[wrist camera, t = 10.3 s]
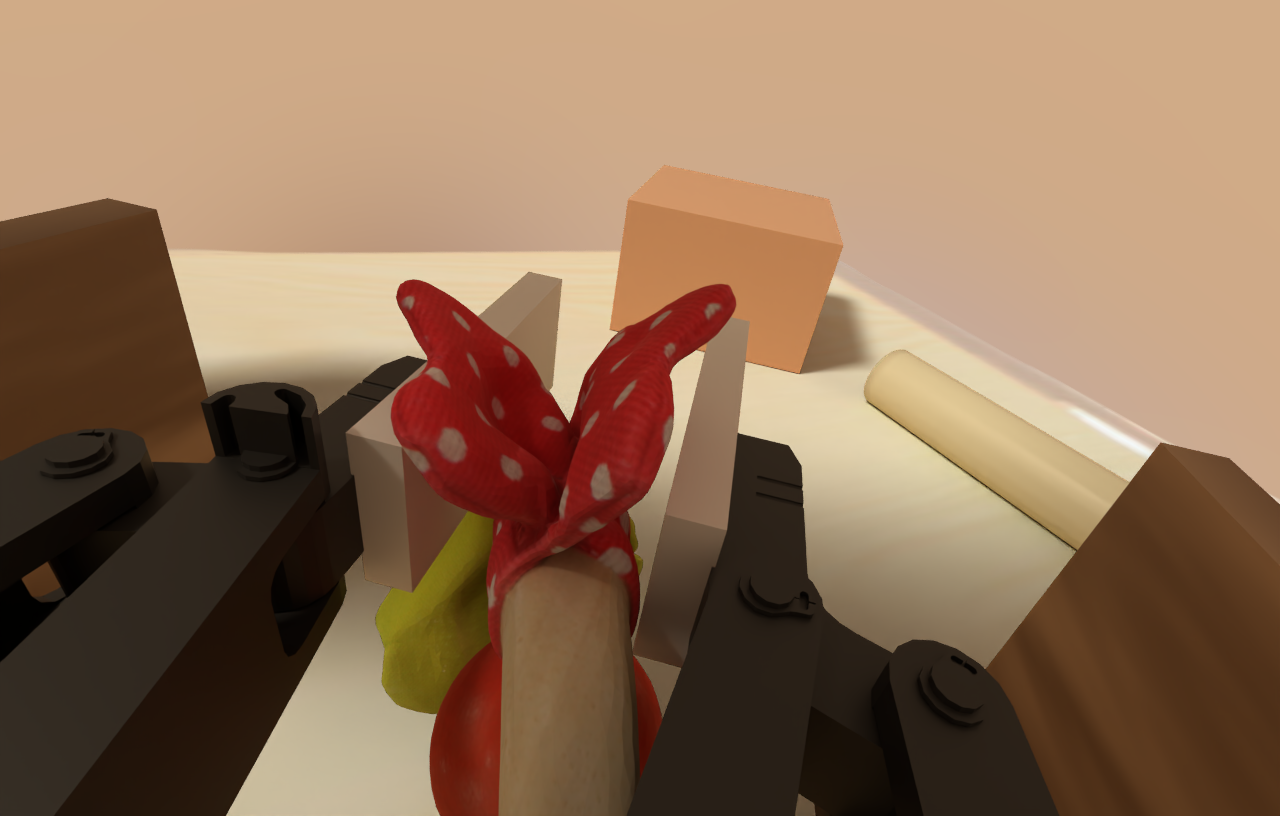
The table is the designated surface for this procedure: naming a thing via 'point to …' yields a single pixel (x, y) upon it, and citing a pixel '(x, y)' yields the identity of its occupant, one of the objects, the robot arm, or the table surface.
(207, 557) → the robot arm
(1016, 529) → the table surface
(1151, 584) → the walnut slot
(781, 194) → the terracotta stand
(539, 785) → the bird rattle
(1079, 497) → the tan piece
